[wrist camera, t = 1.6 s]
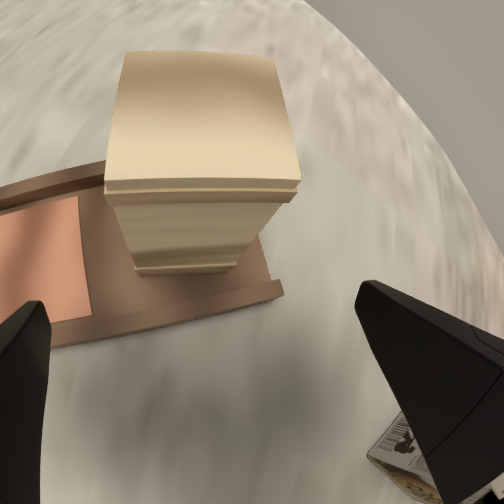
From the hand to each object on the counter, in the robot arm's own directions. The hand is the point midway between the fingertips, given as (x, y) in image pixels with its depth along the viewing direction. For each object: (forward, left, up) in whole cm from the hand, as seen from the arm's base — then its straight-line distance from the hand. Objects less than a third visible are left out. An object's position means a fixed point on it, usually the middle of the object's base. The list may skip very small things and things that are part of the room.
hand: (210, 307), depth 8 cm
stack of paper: (+5, +3, -11) cm, 13 cm away
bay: (+2, +7, -12) cm, 14 cm away
